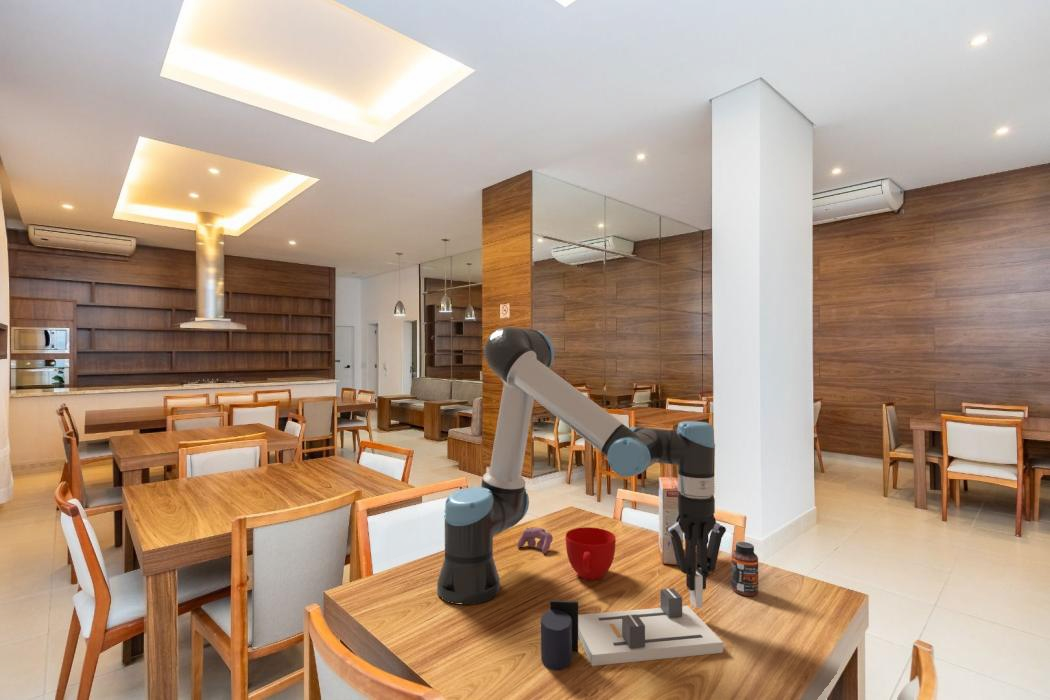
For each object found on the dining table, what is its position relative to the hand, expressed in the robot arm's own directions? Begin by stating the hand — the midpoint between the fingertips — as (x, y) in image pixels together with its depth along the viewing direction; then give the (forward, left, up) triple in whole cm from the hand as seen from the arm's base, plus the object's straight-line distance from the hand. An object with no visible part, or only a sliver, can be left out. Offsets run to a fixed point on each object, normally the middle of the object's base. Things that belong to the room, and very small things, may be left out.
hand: (696, 604), depth 105 cm
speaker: (-32, -9, -4) cm, 34 cm away
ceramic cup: (-17, +23, -4) cm, 29 cm away
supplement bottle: (+18, +10, -4) cm, 21 cm away
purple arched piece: (-27, +44, -4) cm, 52 cm away
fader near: (-18, -9, -1) cm, 20 cm away
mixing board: (-14, -5, -3) cm, 15 cm away
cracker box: (+10, +33, -4) cm, 35 cm away
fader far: (-6, 0, -1) cm, 6 cm away
